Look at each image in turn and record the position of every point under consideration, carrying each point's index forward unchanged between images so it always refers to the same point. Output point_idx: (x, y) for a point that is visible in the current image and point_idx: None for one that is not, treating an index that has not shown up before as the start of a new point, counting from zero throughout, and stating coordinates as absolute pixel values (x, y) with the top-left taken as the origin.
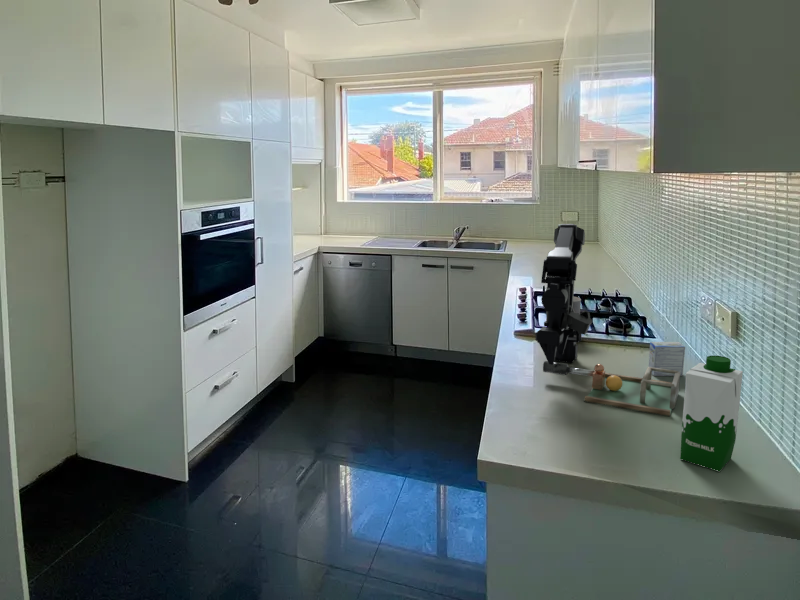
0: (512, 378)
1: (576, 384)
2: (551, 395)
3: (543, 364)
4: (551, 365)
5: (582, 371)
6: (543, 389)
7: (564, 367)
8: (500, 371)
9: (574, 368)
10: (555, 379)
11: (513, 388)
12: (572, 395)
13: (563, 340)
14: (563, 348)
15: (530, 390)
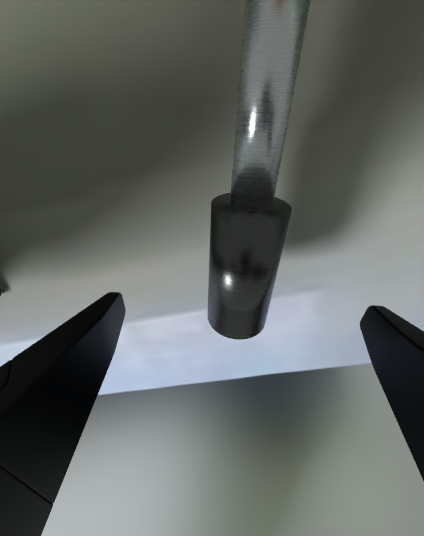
0: (253, 350)
1: (230, 121)
2: (418, 209)
3: (261, 330)
4: (269, 298)
5: (297, 58)
6: (342, 253)
7: (284, 225)
8: (207, 379)
9: (269, 150)
10: (202, 235)
11: (347, 333)
12: (419, 103)
13: (40, 406)
14: (97, 326)
15: (360, 289)
